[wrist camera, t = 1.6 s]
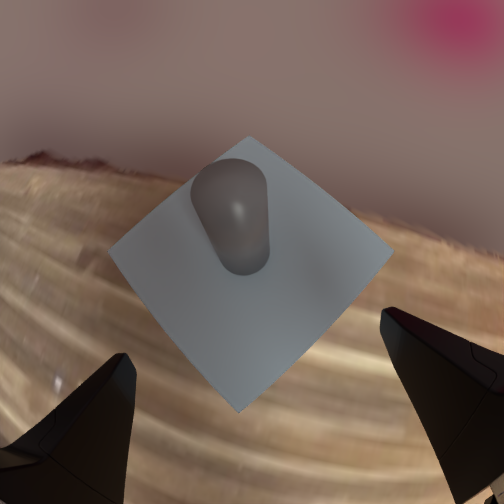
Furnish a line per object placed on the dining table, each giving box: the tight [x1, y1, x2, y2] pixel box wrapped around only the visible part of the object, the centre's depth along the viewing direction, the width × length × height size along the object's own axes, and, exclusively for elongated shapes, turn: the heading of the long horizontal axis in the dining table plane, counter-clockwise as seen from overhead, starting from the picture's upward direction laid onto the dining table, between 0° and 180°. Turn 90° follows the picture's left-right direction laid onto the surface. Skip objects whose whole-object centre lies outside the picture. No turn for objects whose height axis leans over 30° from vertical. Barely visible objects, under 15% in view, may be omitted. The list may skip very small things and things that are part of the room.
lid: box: [107, 136, 394, 413], centre depth 16 cm, size 14×14×9 cm
